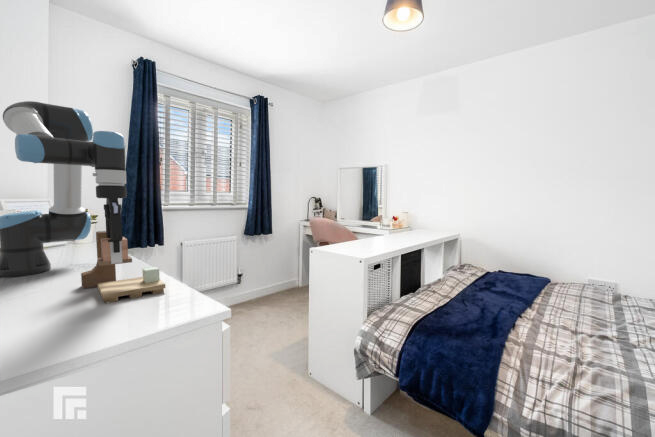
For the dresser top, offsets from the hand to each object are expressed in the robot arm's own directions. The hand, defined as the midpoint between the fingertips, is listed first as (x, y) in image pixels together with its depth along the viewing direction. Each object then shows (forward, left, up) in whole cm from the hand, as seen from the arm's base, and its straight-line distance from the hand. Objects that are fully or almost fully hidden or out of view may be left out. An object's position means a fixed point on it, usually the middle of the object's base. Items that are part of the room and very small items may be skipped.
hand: (115, 261), depth 92 cm
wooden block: (-15, -3, -11) cm, 19 cm away
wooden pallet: (0, +4, -10) cm, 11 cm away
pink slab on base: (0, 0, 0) cm, 0 cm away
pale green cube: (0, +9, -8) cm, 12 cm away
